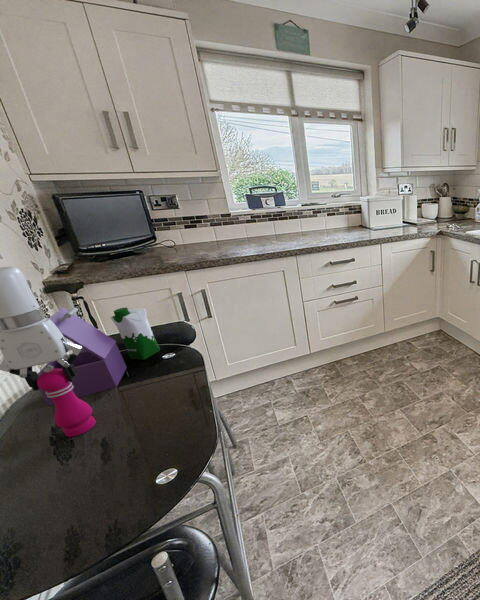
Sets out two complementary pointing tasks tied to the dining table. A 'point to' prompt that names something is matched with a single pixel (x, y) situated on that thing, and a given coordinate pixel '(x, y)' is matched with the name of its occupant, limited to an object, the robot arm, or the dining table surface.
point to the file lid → (82, 333)
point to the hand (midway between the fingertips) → (55, 382)
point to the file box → (93, 373)
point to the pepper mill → (66, 402)
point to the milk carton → (135, 332)
